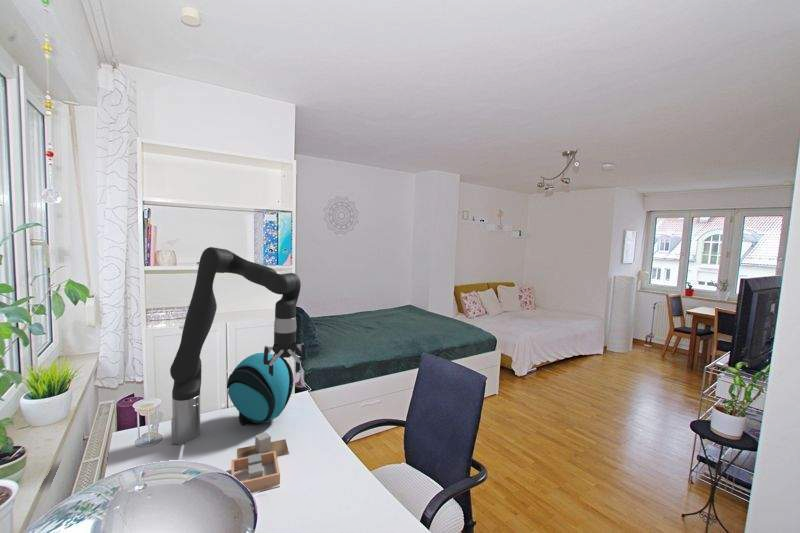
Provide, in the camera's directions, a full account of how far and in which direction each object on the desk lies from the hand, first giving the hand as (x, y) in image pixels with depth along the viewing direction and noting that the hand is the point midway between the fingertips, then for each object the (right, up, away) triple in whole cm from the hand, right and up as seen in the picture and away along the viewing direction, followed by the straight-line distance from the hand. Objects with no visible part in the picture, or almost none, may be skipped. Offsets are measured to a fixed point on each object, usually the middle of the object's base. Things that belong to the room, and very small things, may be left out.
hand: (284, 373), depth 127 cm
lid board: (-9, -30, +2) cm, 32 cm away
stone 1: (-7, -31, -8) cm, 33 cm away
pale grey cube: (-9, -29, +4) cm, 31 cm away
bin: (-6, -32, -11) cm, 34 cm away
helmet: (-18, -28, +23) cm, 41 cm away
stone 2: (-5, -31, -13) cm, 34 cm away
